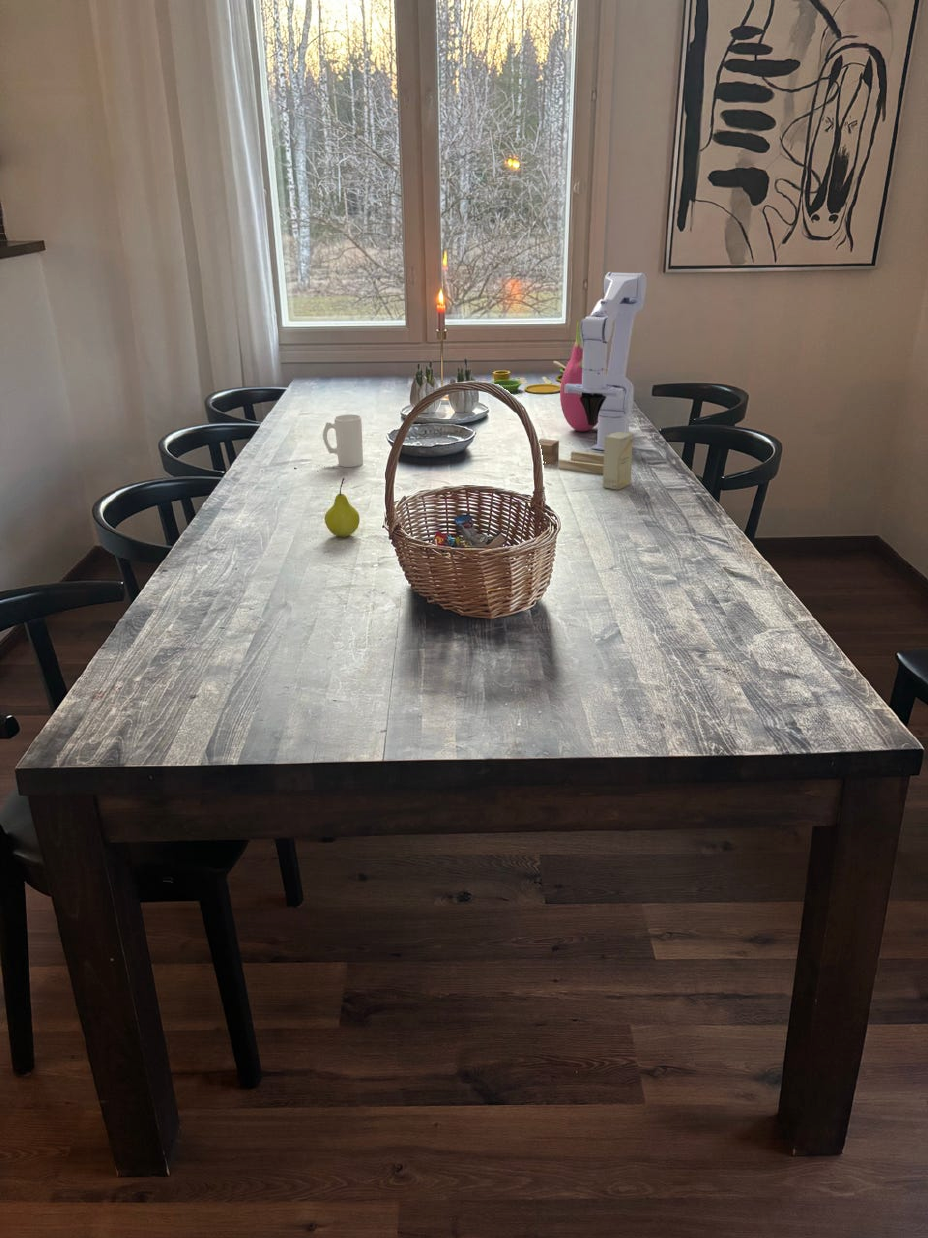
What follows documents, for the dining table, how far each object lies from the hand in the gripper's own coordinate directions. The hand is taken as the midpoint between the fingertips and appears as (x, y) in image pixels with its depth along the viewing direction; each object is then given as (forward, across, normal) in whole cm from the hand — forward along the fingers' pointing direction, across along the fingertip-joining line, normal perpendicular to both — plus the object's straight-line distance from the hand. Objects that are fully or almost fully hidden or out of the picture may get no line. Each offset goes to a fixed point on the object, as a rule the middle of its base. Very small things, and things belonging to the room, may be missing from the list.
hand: (592, 424), depth 237 cm
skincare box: (+10, +12, -13) cm, 21 cm away
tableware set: (+11, -49, +83) cm, 97 cm away
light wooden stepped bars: (+10, 0, -1) cm, 10 cm away
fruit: (+10, -26, -70) cm, 75 cm away
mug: (+10, -57, -26) cm, 63 cm away
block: (+10, -12, -1) cm, 16 cm away
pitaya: (+11, -15, +30) cm, 36 cm away
